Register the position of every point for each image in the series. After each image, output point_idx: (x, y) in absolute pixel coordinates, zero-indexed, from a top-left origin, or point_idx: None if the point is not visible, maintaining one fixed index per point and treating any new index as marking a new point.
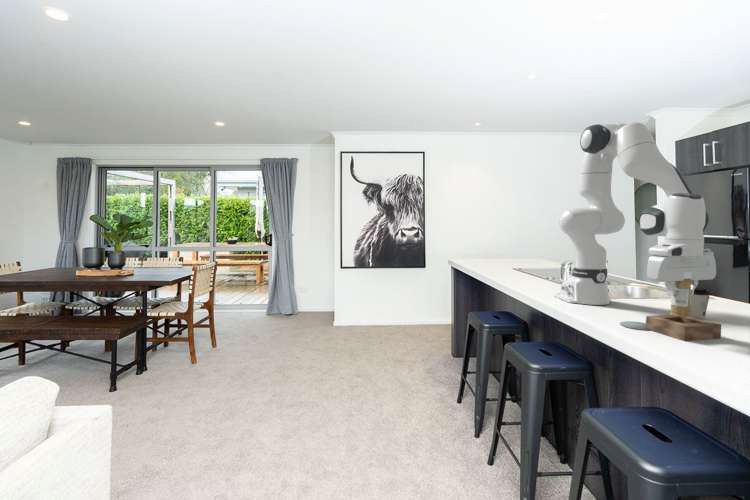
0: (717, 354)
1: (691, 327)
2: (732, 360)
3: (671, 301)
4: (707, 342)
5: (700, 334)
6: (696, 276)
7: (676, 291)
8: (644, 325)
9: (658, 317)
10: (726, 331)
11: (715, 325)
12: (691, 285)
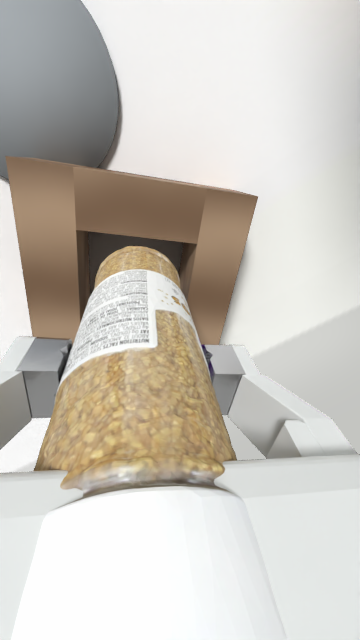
0: (37, 421)
1: None
2: (33, 447)
3: (89, 301)
4: None
5: None
6: None
7: (52, 408)
8: (62, 116)
9: (61, 212)
10: (308, 295)
11: None
12: (265, 426)
